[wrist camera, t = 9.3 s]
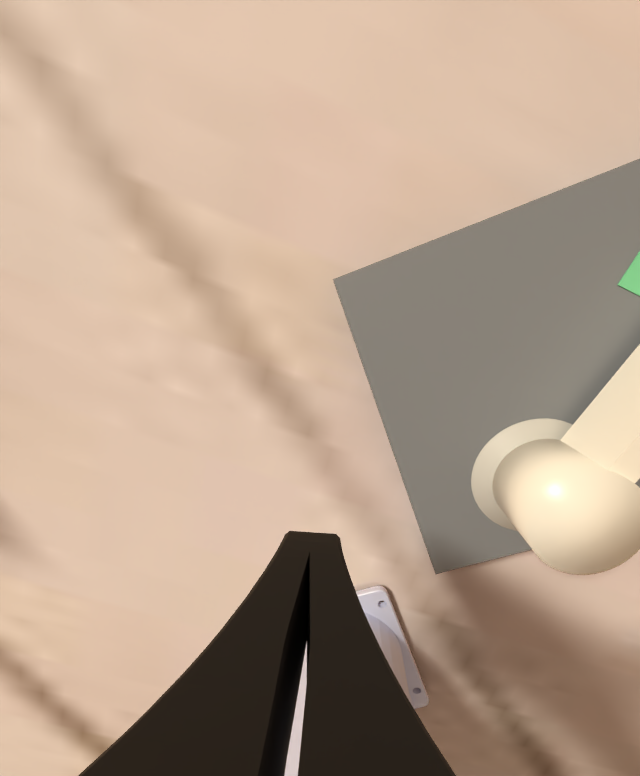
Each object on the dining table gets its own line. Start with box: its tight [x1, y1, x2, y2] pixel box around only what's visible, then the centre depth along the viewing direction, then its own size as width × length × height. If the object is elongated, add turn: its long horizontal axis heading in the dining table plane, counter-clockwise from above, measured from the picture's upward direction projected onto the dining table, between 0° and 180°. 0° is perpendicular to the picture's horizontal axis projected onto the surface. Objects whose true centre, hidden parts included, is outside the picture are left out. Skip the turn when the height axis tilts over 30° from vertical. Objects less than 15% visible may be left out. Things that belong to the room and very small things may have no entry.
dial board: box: [333, 159, 640, 574], centre depth 16 cm, size 16×20×2 cm
